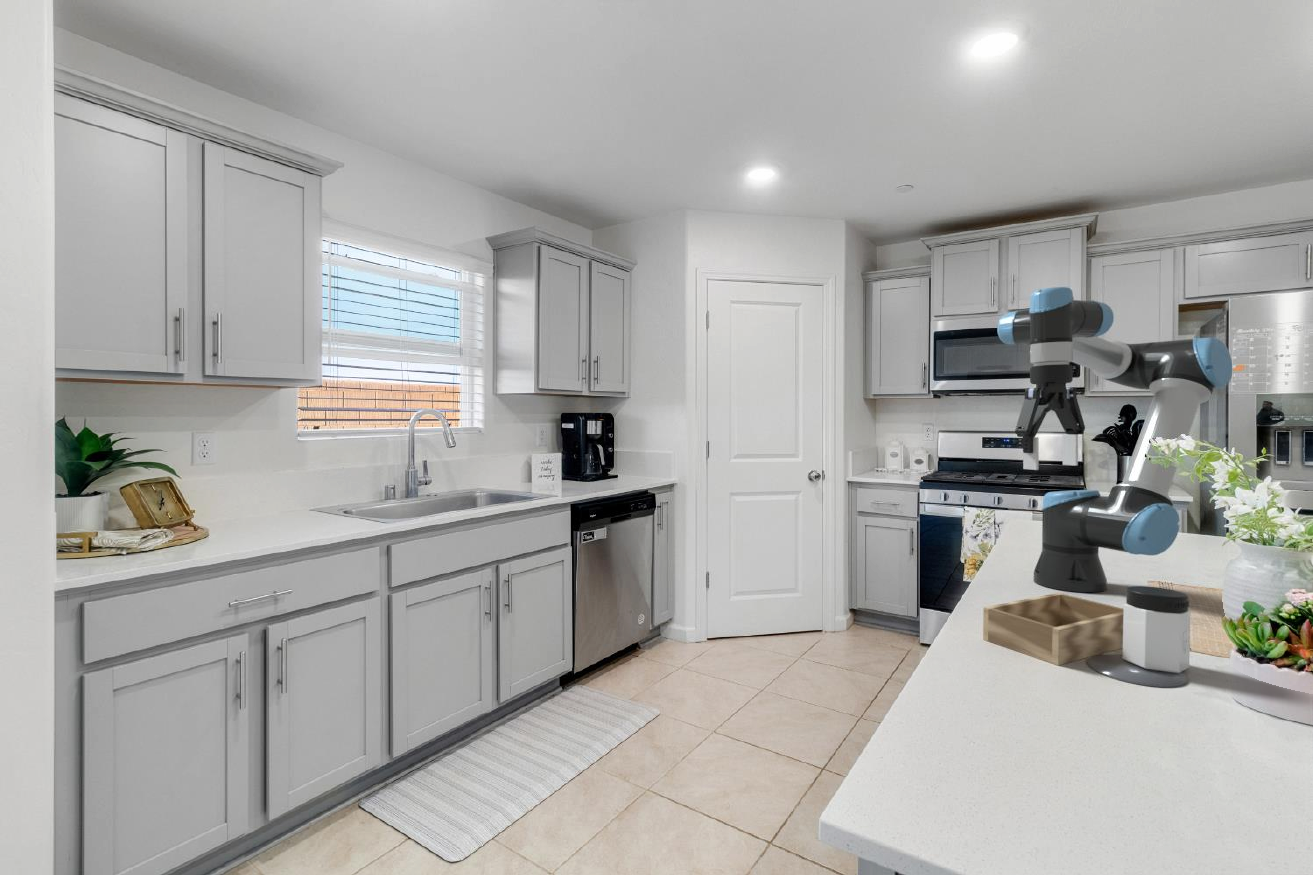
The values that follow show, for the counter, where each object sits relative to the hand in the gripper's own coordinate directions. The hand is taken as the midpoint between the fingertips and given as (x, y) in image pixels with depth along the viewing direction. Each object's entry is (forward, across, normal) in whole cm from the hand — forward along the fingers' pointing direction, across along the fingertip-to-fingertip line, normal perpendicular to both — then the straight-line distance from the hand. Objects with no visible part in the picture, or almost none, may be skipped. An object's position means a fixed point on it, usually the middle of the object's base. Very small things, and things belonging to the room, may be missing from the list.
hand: (1050, 467), depth 135 cm
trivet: (+30, +19, +25) cm, 43 cm away
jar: (+30, +14, +26) cm, 42 cm away
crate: (+30, +16, +11) cm, 36 cm away
